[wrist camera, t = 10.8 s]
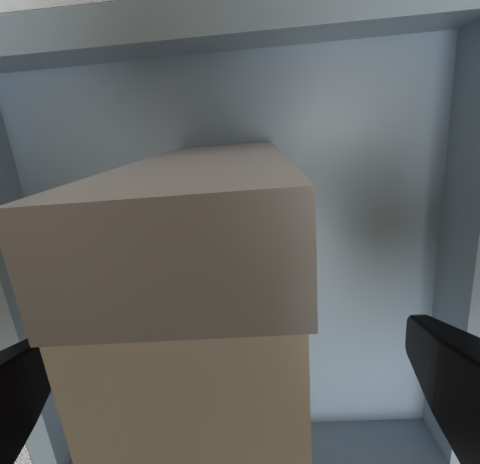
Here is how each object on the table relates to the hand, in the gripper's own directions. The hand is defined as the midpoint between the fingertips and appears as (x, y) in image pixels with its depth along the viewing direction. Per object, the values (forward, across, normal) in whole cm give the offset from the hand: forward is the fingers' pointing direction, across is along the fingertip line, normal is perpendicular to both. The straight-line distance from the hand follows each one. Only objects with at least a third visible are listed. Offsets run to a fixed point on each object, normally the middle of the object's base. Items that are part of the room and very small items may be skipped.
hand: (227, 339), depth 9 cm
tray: (+6, 0, 0) cm, 6 cm away
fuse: (+5, 0, 0) cm, 5 cm away
